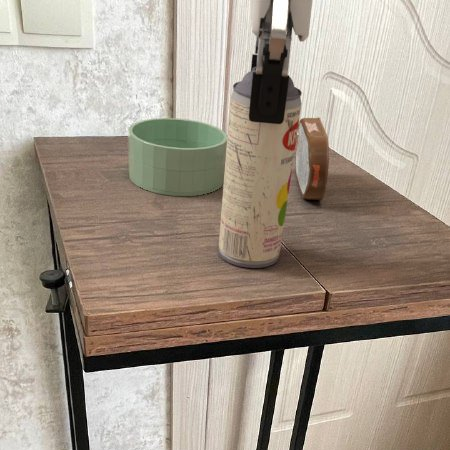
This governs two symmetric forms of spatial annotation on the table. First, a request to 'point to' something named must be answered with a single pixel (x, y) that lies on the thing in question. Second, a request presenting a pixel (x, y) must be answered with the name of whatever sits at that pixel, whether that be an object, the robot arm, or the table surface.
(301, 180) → the tin
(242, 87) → the aerosol can
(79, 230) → the table surface
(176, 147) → the bowl
